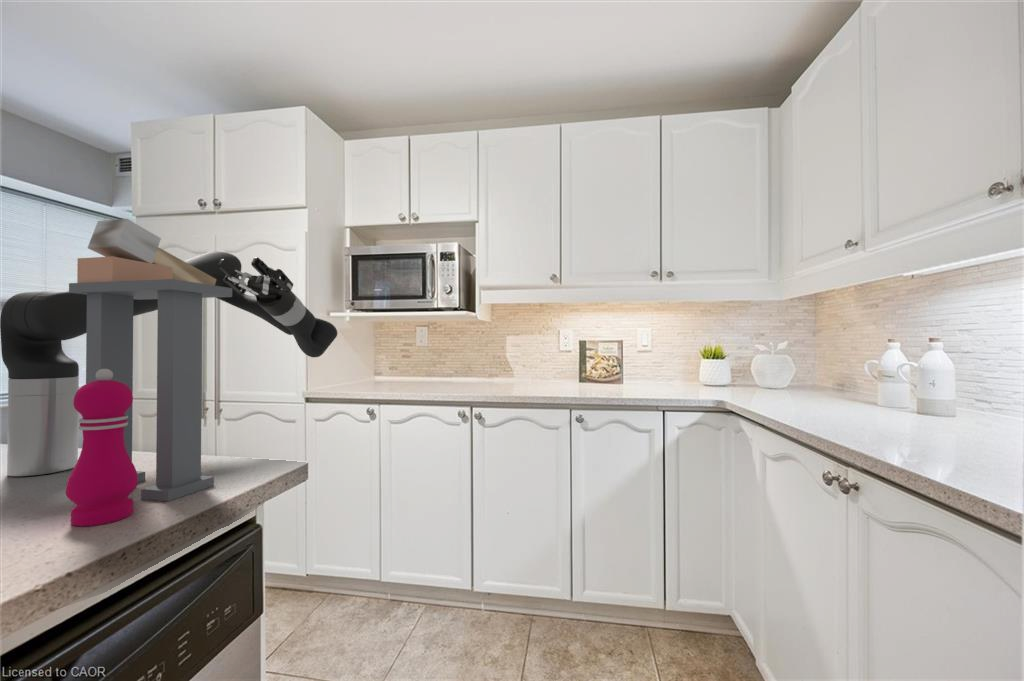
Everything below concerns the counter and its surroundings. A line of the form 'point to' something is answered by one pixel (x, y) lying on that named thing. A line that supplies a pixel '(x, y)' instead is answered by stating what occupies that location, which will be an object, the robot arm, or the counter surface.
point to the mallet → (141, 249)
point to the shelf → (174, 369)
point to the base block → (119, 270)
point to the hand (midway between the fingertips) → (237, 261)
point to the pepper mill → (102, 454)
